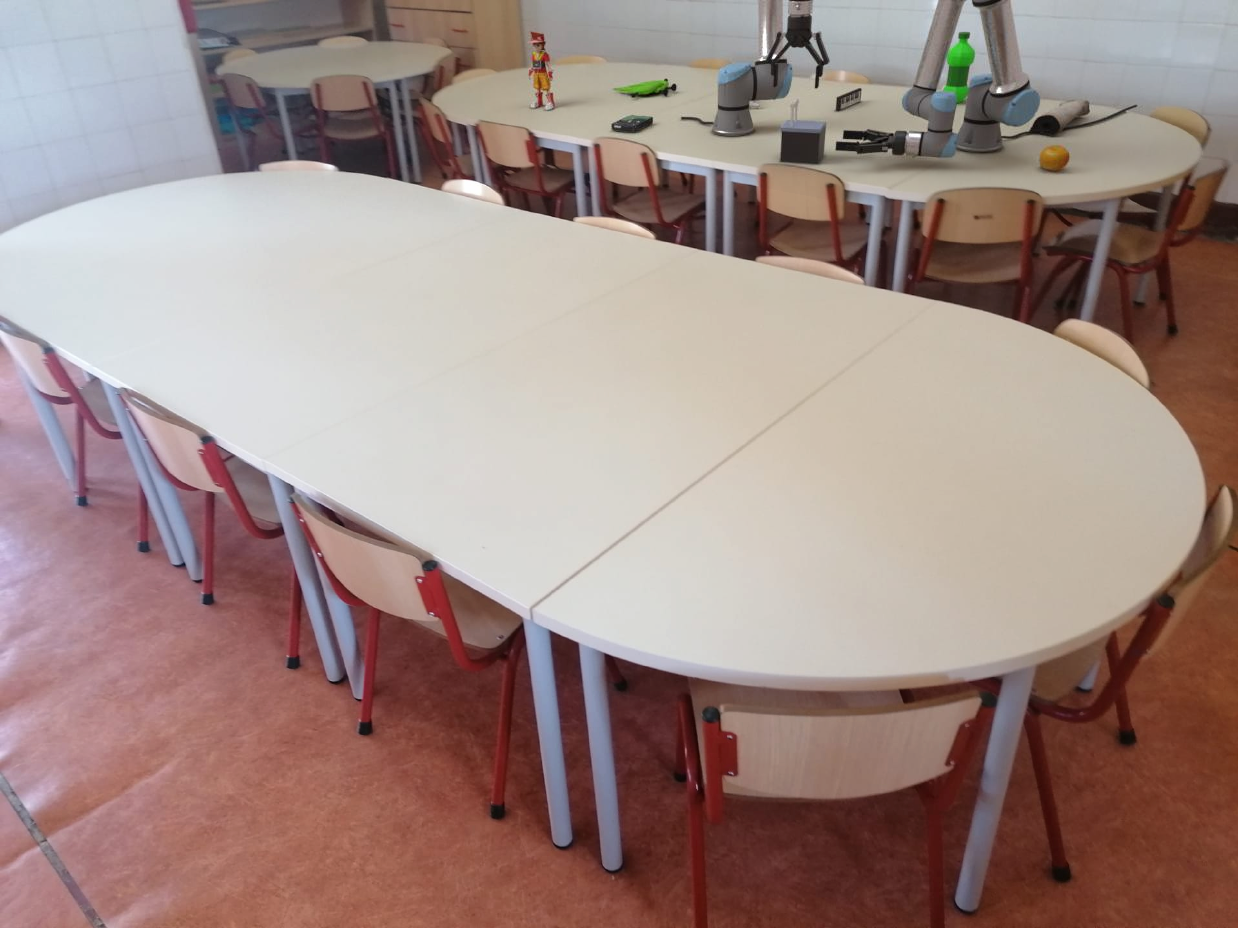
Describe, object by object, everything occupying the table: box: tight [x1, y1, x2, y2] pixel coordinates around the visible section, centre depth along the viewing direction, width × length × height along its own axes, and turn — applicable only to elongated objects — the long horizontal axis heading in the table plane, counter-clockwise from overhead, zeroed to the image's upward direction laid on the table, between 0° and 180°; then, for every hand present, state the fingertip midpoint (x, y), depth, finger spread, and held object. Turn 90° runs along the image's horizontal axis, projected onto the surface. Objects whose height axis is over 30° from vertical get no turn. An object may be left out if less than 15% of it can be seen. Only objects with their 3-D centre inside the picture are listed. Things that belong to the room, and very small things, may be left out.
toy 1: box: [527, 31, 556, 111], centre depth 374 cm, size 12×9×30 cm
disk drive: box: [610, 114, 654, 133], centre depth 348 cm, size 10×3×15 cm
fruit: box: [1038, 144, 1071, 172], centre depth 279 cm, size 8×8×8 cm
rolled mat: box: [1028, 99, 1091, 137], centre depth 319 cm, size 30×9×10 cm
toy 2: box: [612, 78, 677, 99], centre depth 396 cm, size 28×5×30 cm
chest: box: [779, 125, 827, 165], centre depth 301 cm, size 13×10×10 cm
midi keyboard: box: [835, 87, 863, 112], centre depth 357 cm, size 18×1×5 cm, turn 138°
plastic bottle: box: [942, 31, 976, 104], centre depth 348 cm, size 10×10×25 cm
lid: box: [779, 98, 827, 133], centre depth 296 cm, size 13×10×8 cm
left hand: (795, 87), depth 292 cm, fingers open, 13 cm apart
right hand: (839, 140), depth 295 cm, fingers open, 13 cm apart
